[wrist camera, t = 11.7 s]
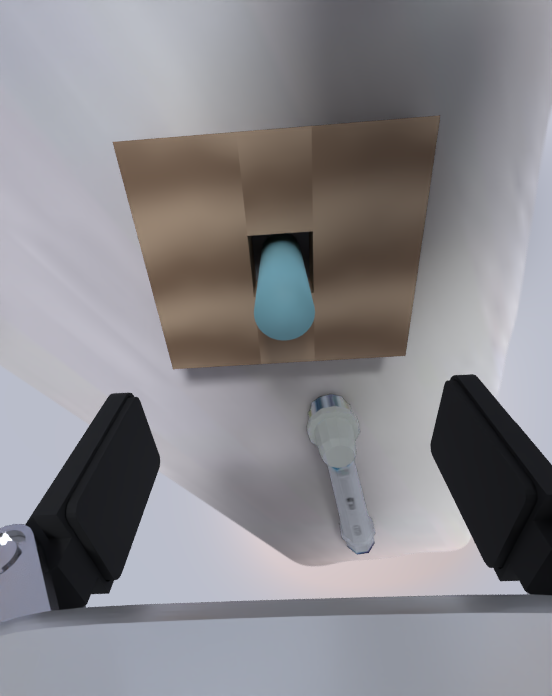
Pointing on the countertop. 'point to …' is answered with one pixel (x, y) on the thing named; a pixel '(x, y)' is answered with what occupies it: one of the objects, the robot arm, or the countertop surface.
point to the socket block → (283, 217)
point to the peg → (283, 290)
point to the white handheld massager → (342, 467)
